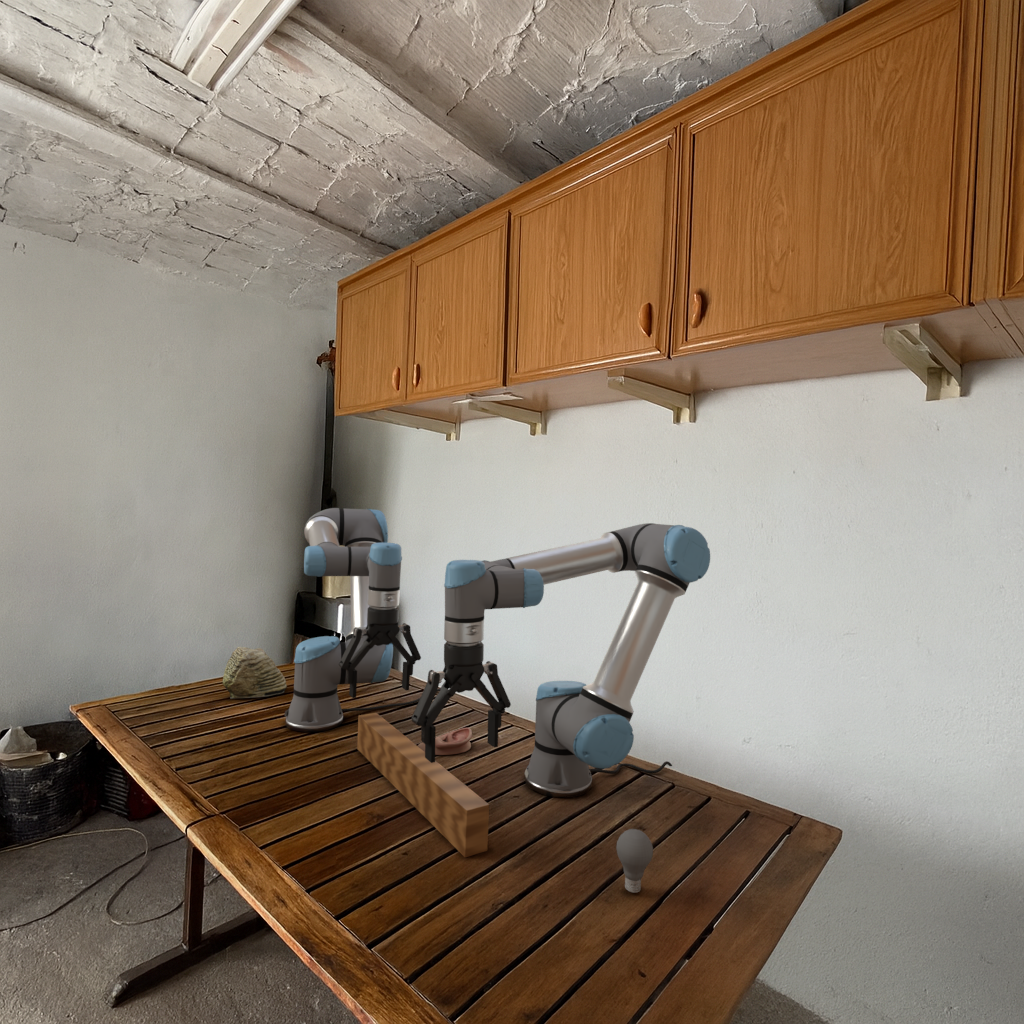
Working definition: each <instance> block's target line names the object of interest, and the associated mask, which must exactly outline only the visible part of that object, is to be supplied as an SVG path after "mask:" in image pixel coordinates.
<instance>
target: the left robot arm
mask: <svg viewBox="0 0 1024 1024" xmlns="http://www.w3.org/2000/svg"><path fill="white" fill-rule="evenodd" d="M388 533H389V529H388V521H387V518H386V516H385V514H384V512H383V511H382V510H379V509H371V508H345V507H344V508H341V507H330V508H326V509H323V510H321V511H317V512H316V513H315V514H313V515H312V516H310V517H309V518H308V520H307V521H306V523H305V525H304V528H303V534H304V538H305V540H306V541H307V543H308V544H309V545H308V546H306V547H305V548H304V556H303V557H304V558H303V573H304V574H305V576H308V577H317V578H320V577H349V581H350V582H349V584H350V631H349V632H348V633H347V634H346V635H345V641H341V640H340V638H339V637H338V636H335V635H331V636H329V635H324V636H317V637H311V638H308V639H306V640H303V641H301V642H299V643H298V644H297V645H296V648H295V655H294V660H293V663H294V680H293V695H292V696H293V697H292V699H291V702H290V704H289V708H288V709H287V710H285V711H284V717H285V726H286V728H287V729H289V730H291V731H294V732H295V731H296V732H301V733H316V732H325V731H329V730H332V729H335V728H337V727H339V726H340V725H342V723H343V722H344V714H343V712H365V711H373V710H379V709H386V708H392V707H402V706H407V705H412V704H415V703H418V702H419V700H420V698H421V696H420V697H418V698H416V699H414V700H411V701H407V702H399V703H390V704H384V705H377V706H371V707H370V706H369V707H353V708H342V706H341V702H340V699H339V695H338V685H349V686H348V687H349V690H348V691H349V692H348V695H349V696H350V697H351V698H352V699H356V698H357V688H358V687H357V684H373V683H382V682H385V681H386V680H387V679H388V678H389V676H390V673H391V669H392V664H393V656H394V647H395V649H396V650H397V651H398V652H399V653H400V655H401V656H402V658H404V660H405V661H402V672H401V673H402V674H401V675H402V676H401V688H402V689H403V690H404V691H410V678H411V676H413V675H414V665H415V664H416V662H417V661H420V660H421V659H422V656H421V654H420V652H419V649H418V646H417V645H416V642H415V640H414V638H413V635H412V631H411V625H409V624H407V623H406V622H403V623H402V624H401V625H399V617H400V608H399V605H400V596H401V593H400V592H401V574H402V573H401V572H402V571H401V570H402V560H403V556H402V546H401V545H400V544H398V543H395V542H389V534H388ZM399 633H401V634H402V636H403V638H404V640H405V643H406V645H407V647H408V650H409V652H410V653H409V652H408V650H407V649H406V648H405V647H404V646H403V645H402V643H401V641H400V640H399V639H398V638H397V635H398V634H399ZM440 689H441V687H440V688H438V689H437V692H438V693H439V692H440ZM448 689H450V687H449V688H448ZM437 692H436V693H437Z"/></svg>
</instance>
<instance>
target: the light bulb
mask: <svg viewBox="0 0 1024 1024" xmlns="http://www.w3.org/2000/svg"><path fill="white" fill-rule="evenodd" d="M615 849H616V854H617V857H618V859H619V861H620V863H621V865H622V867H623V873H624V874H623V875H624V876H625V878H624V888H625V890H627V891H628V892H630V893H634V894H635V893H639V892H640V891H641V889H642V887H641V886H642V879H643V877H644V875H645V871H646V868H647V867H648V866H649V864H650V863H651V861H652V859H653V855H654V847H653V843H652V841H651V838H649V836H648V835H647V834H646V833H645V832H643V831H642V830H641V829H636V828H629V829H627V830H625V831H623V832H622V833H621V834H620V835H619V837H618V839H617V841H616V847H615Z"/></svg>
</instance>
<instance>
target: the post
mask: <svg viewBox="0 0 1024 1024" xmlns="http://www.w3.org/2000/svg"><path fill="white" fill-rule="evenodd" d="M357 718H358V720H357V743H356V749H357V751H358V752H359V753H361V755H362V756H363V757H364V758H365V759H366V760H367V761H368V762H369V763H370V764H371V765H372V766H373V767H374V768H375V769H376V770H377V771H378V772H379V773H380V774H381V775H382V776H383V777H384V778H385V779H386V780H387V781H388V782H389V783H390V784H391V785H392V786H393V787H394V788H395V789H396V790H397V791H398V792H399V793H400V794H401V795H402V796H403V797H404V798H405V799H406V800H407V801H408V802H409V803H410V804H411V805H412V807H414V808H415V809H416V810H417V811H418V812H419V813H420V814H421V815H422V816H423V817H424V819H426V820H427V821H428V822H429V823H430V824H431V825H432V826H433V827H434V828H435V829H436V830H437V831H438V833H440V834H441V835H442V836H443V837H444V838H445V839H446V840H447V841H448V842H449V843H450V844H451V846H452V847H454V849H456V850H457V851H458V853H460V854H461V855H462V856H463V858H469V857H472V856H474V855H479V854H481V853H484V852H487V851H488V848H489V847H488V845H489V844H488V842H489V823H490V822H489V821H490V804H489V803H488V802H487V801H485V800H484V798H482V797H481V796H480V795H478V794H477V793H476V792H475V791H473V790H472V789H471V788H470V787H468V786H467V785H466V784H465V783H463V782H462V781H461V780H460V779H458V778H457V777H456V776H455V775H454V774H453V773H451V772H450V771H448V770H447V769H446V768H445V767H444V766H442V765H441V764H440V763H439V762H437V761H436V760H435V762H433V763H431V762H430V761H429V760H427V759H426V758H425V752H424V751H423V750H421V749H420V748H419V747H418V745H417V744H416V743H414V742H413V741H412V740H411V739H409V738H408V737H407V736H406V735H404V734H403V733H402V731H401V732H400V731H399V730H398V729H397V728H396V727H395V726H393V724H391V723H389V721H387V720H386V719H384V717H382V716H381V715H380V714H379V713H378V712H371V713H365V714H361V715H360V714H358V717H357Z"/></svg>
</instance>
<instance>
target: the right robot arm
mask: <svg viewBox="0 0 1024 1024" xmlns="http://www.w3.org/2000/svg"><path fill="white" fill-rule="evenodd" d="M708 543H709V542H708V541H707V539H706V537H705V536H704V535H703V533H702V532H700V531H699V530H697V529H696V528H693V527H690V526H685V525H682V524H674V525H673V524H665V523H654V522H653V523H651V522H650V523H639V524H635V525H632V526H627V527H624V528H623V527H622V528H620V529H616V530H612V531H608V532H604V533H602V535H601V536H600V537H599V538H594V539H591V540H586V541H581V542H575V543H572V544H567V545H562V546H557V547H554V548H548V549H547V548H546V549H543V550H538V551H534V552H529V553H524V554H520V555H516V556H510V557H507V558H500V559H497V560H496V559H495V560H491V561H489V560H479V559H455V560H451V561H449V562H448V563H447V564H446V567H445V575H444V584H443V587H444V628H443V629H444V631H443V632H444V633H443V640H444V641H445V643H444V644H443V665H444V667H443V670H442V671H441V670H440V671H435V670H433V669H430V670H429V671H428V673H427V682H426V684H425V686H424V689H423V691H422V693H421V696H420V697H421V698H420V697H419V698H420V700H419V701H418V702H417V704H416V707H415V709H414V712H413V714H412V716H411V718H410V720H411V722H412V723H413V724H414V725H416V726H418V727H420V728H421V729H420V740H421V743H422V742H423V743H424V744H425V758H426V759H427V760H429V761H430V762H431V763H433V762H435V761H436V755H435V737H436V734H437V733H436V731H437V730H436V729H437V728H436V726H435V725H434V723H435V721H436V720H437V718H438V717H439V715H440V714H441V712H442V711H443V709H444V708H445V706H446V705H447V704H448V702H449V700H451V698H452V697H454V696H455V695H456V693H458V694H460V693H464V692H465V691H466V692H467V691H468V692H471V691H474V689H475V690H476V691H477V692H478V693H479V695H480V696H481V697H482V698H483V700H484V701H485V702H486V703H487V705H488V706H489V707H490V708H491V709H488V710H487V742H486V743H487V744H488V745H490V746H492V747H493V748H498V747H499V729H501V727H502V720H503V719H502V717H503V716H502V715H503V714H505V712H506V709H509V708H510V707H511V706H512V704H511V700H510V699H509V697H508V694H507V691H506V690H505V687H504V685H503V682H502V681H501V678H500V676H499V671H498V665H497V663H494V662H493V661H490V660H487V661H486V662H485V663H484V664H483V662H484V658H485V657H484V654H485V653H484V651H485V648H484V647H485V645H484V643H483V642H482V641H483V640H484V635H485V633H484V632H485V611H486V610H496V609H499V610H500V609H518V608H520V609H521V608H522V609H525V608H530V607H536V606H538V605H540V603H541V602H542V600H543V598H544V593H545V592H544V591H545V585H549V584H552V583H557V582H562V581H566V580H570V579H574V578H579V577H583V576H587V575H591V574H597V573H600V572H604V571H608V572H610V573H614V574H615V573H619V572H627V571H628V572H629V571H630V572H631V571H632V572H634V574H635V577H636V579H637V584H636V585H635V588H634V590H633V592H632V594H631V597H630V599H629V601H628V603H627V606H626V608H625V610H624V612H623V614H622V617H621V619H620V621H619V624H618V626H617V628H616V630H615V632H614V634H613V637H612V639H611V641H610V644H609V646H608V648H607V650H606V653H605V655H604V657H603V659H602V661H601V664H600V665H599V668H598V671H597V673H596V674H595V677H594V678H593V682H591V683H589V684H586V683H584V682H581V681H577V680H576V681H575V680H552V681H545V682H542V683H541V684H540V685H538V687H537V690H536V697H535V702H536V704H535V722H534V723H535V724H534V728H535V729H534V747H533V750H532V753H531V755H530V759H529V763H528V765H527V767H526V768H525V771H524V782H525V784H526V786H527V787H528V788H529V789H531V790H532V791H534V792H536V793H538V794H541V795H543V796H548V797H553V798H575V797H579V796H582V795H584V794H587V793H588V792H589V791H590V790H591V789H592V785H593V782H592V781H593V776H592V773H600V774H609V775H615V774H618V773H619V771H620V769H621V768H623V767H627V768H631V769H635V770H637V771H640V772H642V773H646V774H658V773H660V772H662V771H663V769H664V768H665V767H666V766H669V767H673V763H671V762H670V761H667V760H666V761H664V762H663V763H662V764H661V765H660V766H659V767H658V768H657V769H653V770H652V769H651V770H650V769H645V768H642V767H640V766H637V765H635V764H631V763H627V762H626V763H625V762H624V763H621V762H623V761H624V759H626V757H628V755H629V753H630V752H631V750H632V748H633V744H634V739H635V738H634V737H635V735H634V733H633V731H634V730H633V726H632V725H631V720H632V717H633V715H634V712H635V711H634V708H633V706H632V698H633V696H634V693H635V691H636V689H637V687H638V685H639V682H640V680H641V678H642V675H643V673H644V670H645V668H646V666H647V664H648V661H649V659H650V657H651V654H652V652H653V650H654V647H655V645H656V644H657V641H658V639H659V636H660V634H661V631H662V629H663V627H664V624H665V622H666V620H667V618H668V615H669V613H670V610H671V608H672V607H673V604H674V602H675V600H676V599H677V598H679V597H681V596H684V595H685V594H686V592H687V589H688V588H689V586H690V584H691V583H694V582H698V580H701V579H702V578H703V577H704V576H705V575H706V574H707V572H708V570H709V568H710V565H711V564H710V563H711V550H710V547H709V544H708ZM484 674H485V675H486V676H487V679H488V681H489V684H490V686H491V688H492V690H493V692H494V694H495V696H494V695H493V694H492V693H491V691H490V690H489V689H488V688H487V686H486V685H485V683H484V682H483V681H482V677H483V676H484ZM442 680H444V682H443V683H442ZM441 683H442V685H441V686H440V684H441ZM439 686H440V688H441V689H440V688H439ZM449 687H450V688H449ZM448 688H449V689H448ZM437 689H440V691H438V693H437ZM615 766H616V769H614V770H608V769H611V768H612V767H615ZM590 767H592V768H590Z"/></svg>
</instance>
